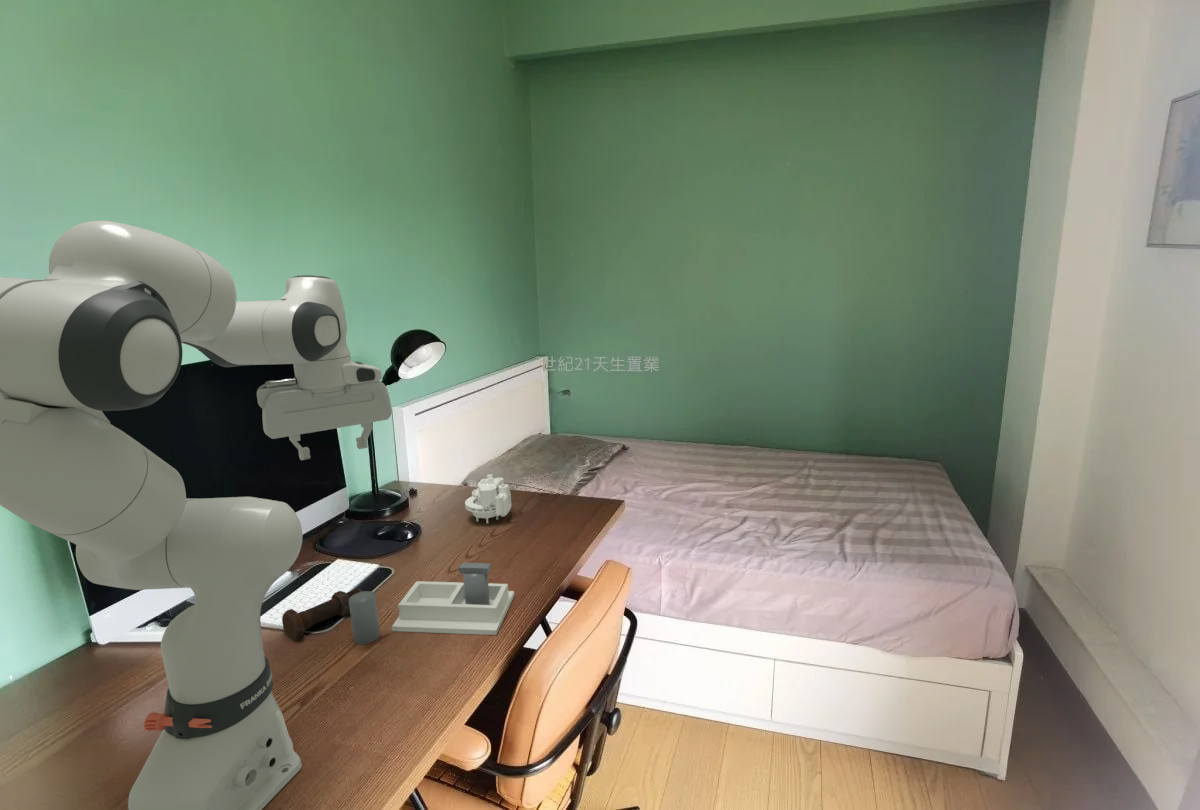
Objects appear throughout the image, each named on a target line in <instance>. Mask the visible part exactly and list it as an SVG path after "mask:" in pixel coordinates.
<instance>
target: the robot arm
mask: <svg viewBox="0 0 1200 810" xmlns="http://www.w3.org/2000/svg"><path fill="white" fill-rule="evenodd" d="M48 258H49V259H48V271H49V272H48V273H49V275H48V276H47V277H45V278H44V279H37V278H29V277H28V278H26V277H11V276H10V277H9V276H0V507H3V508H4V509H5V510H7V511H8V512H11V513H12V514H13V515H15V516H16V517H18V518H20V519H21V520H23V521H26V522H27V523H29V524H30V525H33V526H35V527H37V528H39V529H40V530H43V531H45V532H47V533H49V534H52V535H54V536H56V537H59V538H61V539H64V541H65V540H66V541H67V542H68V543H69V542H70V543H72V544H74V545H75V558H76V562H77V565H78V568H79V570H80V572H81V574H82V575H83V577H85V578H86V580H88V581H89V582H91V583H92V584H96V585H100V586H105V587H106V586H107V587H112V588H119V589H125V590H132V591H133V590H134V591H142V590H143V591H144V590H163V589H164V590H167V589H185V588H186V589H188V588H189V589H191V590H192V592H193V594H194V597H195V598H194V599H195V603H194V604H192V605H191V606H189V607H188V608H186V609H184V610H183V611H182V612H180V613H179V614H177V615H176V616H175V617H174V618H173V619H172V620H171V621H170V622H169V624H168V625H167V627H166V629H165V631H164V632H163V635H162V637H161V642H160V652H161V656H162V661H163V665H164V671H165V676H166V681H167V685H168V688H167V690H166V695H165V696H166V697H165V705H164V712H162V713H159V712H155V711H154V712H151V713H149V714H147V715H146V718H145V719H144V722H143V728H144V730H145V731H149V732H150V731H158V732H160V735H159V737H158V739H157V741H156V742H155V744H154V746H153V748H152V750H151V752H150V754H149V756H148V757H147V759H146V761H145V763H144V764H143V767H142V769H141V770H140V772H139V774H138V776H137V778H136V779H135V782H134V783H133V785H132V787H131V789H130V791H129V795H128V800H127V810H263V809H264V808H265V806H267V804H269V803H270V802H271V800H272V799H274V797H275V796H276V795H277V794H278V793H279V792H280V791H281V790H282V789H283V788H284V787H285V786H286V785H287V784H288V783H289V782H290V781H291V780H292V779H293V778H294V776H296V775H297V774H298V772H299V771H300V770H301V769H302V766H303V763H302V761H301V758H300V756H299V755H298V753H297V752H295V750H294V743H293V740H292V738H291V736H290V735H289V731H288V728H287V724H286V722H285V719H284V716H283V715H284V714H283V712H282V710H281V708H280V706H279V705H278V702H277V701H276V698H275V695H274V694H273V691H272V690H273V686H274V680H273V671H272V669H271V666H270V662H269V659H268V657H267V656H266V655H265V651H264V645H263V634H262V625H261V624H262V623H261V612H262V606H263V603H264V599H265V597H266V595H267V593H268V591H269V590H270V588H271V587H272V586H273V584H275V582H276V581H278V579H280V578H281V577H282V576H284V574H286V573H287V572H288V571H289V570H290V568H291V567H292V566H293V565H294V563H295V562H296V560H297V558H298V557H299V555H300V552H301V549H302V545H303V527H302V525H301V521H300V519H299V517H298V514H297V513H296V512H295V510H294V509H293V508H292V507H291V506H290V505H289V504H288V503H286V502H284V501H279V500H272V499H267V498H260V497H255V496H236V497H235V496H232V497H231V496H230V497H227V496H226V497H213V498H212V497H211V498H210V497H209V498H208V497H206V498H203V497H202V498H198V497H197V498H196V497H195V498H189V497H188V498H187V492H186V487H185V483H184V479H183V477H182V476H181V474H180V472H179V471H178V470H177V469H176V468H175V467H173V466H172V465H170V464H169V463H168V462H166V461H164V459H162V458H161V457H159V456H158V455H156V454H155V452H153V451H151V450H150V449H148V448H147V447H146V446H144V445H143V444H141V442H139V441H137V440H136V439H134V438H133V437H132V436H131V435H129V434H127V433H126V432H125V431H123V430H121V429H120V428H118V427H116V426H114V425H113V424H111V420H109V418H107V416H106V415H105V414H104V412H112V411H113V412H114V411H116V412H118V411H119V412H120V411H129V410H135V409H140V408H145V407H149V406H151V405H154V404H155V403H156V402H158V401H159V400H160V399H162V397H163V396H164V395H165V394H166V393H167V392H168V391H169V389H171V387H172V386H173V385H174V383H175V381H176V379H177V378H178V376H179V374H180V370H181V367H182V364H183V344H184V345H186V346H187V345H188V346H190V347H192V348H195V349H196V350H197V351H199V352H200V353H201V354H203V356H205V357H206V358H207V359H208V360H210V361H211V362H212V363H214V364H216V365H218V366H220V367H223V368H234V367H243V366H244V367H245V366H252V365H253V366H256V365H257V366H258V365H259V366H261V365H263V366H264V365H266V366H267V365H293V372H294V377H290V378H284V379H279V380H267V381H265V383H264V384H262V385H260V386H259V387H258V388H257V390H256V398H257V399H256V400H257V404H258V406H259V407H260V408H261V409H262V414H261V416H262V429H263V432H264V434H265V435H266V436H268V438H270V439H272V440H276V439H280V438H282V439H283V438H286V437H288V438H289V441H290V442H291V443H292V445H293V446H294V447H295V448H296V449H297V451H298V457H299V460H300V461H304V460H311V458H312V457H311V451H310V448H309V447H308V446H304V447H303V446H302V445H301V444H300V443H299V442H300V441H301V435H304V434H312V433H316V432H322V431H328V430H335V429H340V428H346V427H347V428H348V427H353V426H357V425H359V426H360V427H361V428H362V429H363V430H362V432H361V435H360V437H356V438H355V441H356V446H357V447H356V448H357V449H359V450H363V449H368V448H369V444H368V438H369V436H370V434H371V432H372V430H373V423H376V422H381V421H387V420H389V419H390V417H391V416H392V414H393V410H392V409H393V408H392V403H391V398H390V394H389V390H388V388H387V386H386V385H385V383H384V382H382V381H380V380H381V379H382V371H381V370H382V369H380V368H378V366H375V365H371V364H369V363H368V364H367V363H362V362H360V361H352V360H351V352H350V349H349V347H348V345H347V332H348V325H347V317H346V313H345V312H346V311H345V308H344V302H343V299H342V295H341V292H340V288H339V286H338V284H337V282H336V281H335V279H332V278H331V277H328V276H322V275H310V274H309V275H308V274H306V275H295V276H291V277H289V278H287V279H286V282H285V294H284V295H283V296H282V297H280V298H279V299H276V300H274V299H273V300H243V301H239V300H238V298H237V290H236V285H235V282H234V280H233V277H232V275H231V273H230V272H229V271H228V270H227V269H226V268H225V267H224V266H223V264H221V263H220V262H219V261H218V260H216V259H215V258H213V257H212V256H211V255H209V254H207V253H206V252H204V251H202V250H200V249H197V248H195V247H194V246H191V245H189V244H188V243H187V244H186V243H185V242H183V241H180V240H179V239H176V238H173V237H171V236H168V235H166V234H163V233H160V232H157V231H154V230H150V229H147V228H143V227H140V226H139V227H138V226H135V225H133V224H132V225H131V224H127V223H121V222H117V221H112V220H111V221H110V220H101V219H100V220H91V221H85V222H82V223H79V224H76V225H73V226H71V228H68V229H67V230H66V231H64V232H63V233H62V235H61V236H59V238H57V240H56V242H55V243H54V245H53V247H52V249H51V252H50V253H49V257H48Z"/></svg>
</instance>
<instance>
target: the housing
mask: <svg viewBox="0 0 1200 810" xmlns="http://www.w3.org/2000/svg"><path fill="white" fill-rule="evenodd" d="M491 568H492V567H491V563H484V562H483V563H482V562H462V563H461V564H460V565H459V567H458V573H459V574H462V578H463V582H459V581H458V582H456V581H455V582H454V581H453V582H452V581H421V580H420V581H415V583H414V584H413V585H412V586H411V588H409V590H408V591H407V592H406V594H405V595H404V597H403V598H402V599H401V601H400V602H399V603H398V604H397V606H398V607H397V608H398V615H399V616H398V617H397V619H396V620H395V621H394V623H393V624H392V626H391V632H399V633H400V632H402V633H403V632H404V633H405V632H407V633H429V634H430V633H431V634H432V633H433V634H437V633H438V634H452V635H453V634H458V635H480V636H481V635H483V636H497V635H498V632H499V630H500V629H501V626H502V624H503V621H504V620H505V617H506V614H507V613H508V610H509V609H510V606H511V604H512V601H513V599H514V598H515V591H513V590H509V584H508V583H491V582H490V583H489V577H488V575H489V573H490V571H491V570H492V569H491Z"/></svg>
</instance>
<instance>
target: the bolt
mask: <svg viewBox="0 0 1200 810" xmlns="http://www.w3.org/2000/svg"><path fill="white" fill-rule="evenodd" d="M359 592H363V590H362V589H361V588H360V587H357V588H355V589H352V590H350V591H348V592H346V591H342V590H339V591H336V592H334V593H333V595H332V596H331V599H329V600H326V601H324V602H322V603H320V604H318V605H315V606H313V607H310V608H308V609H306V610H302V611H298V612H297V611H296V610H294V609H293V608H290V609H287V610H285V611H284V613H283V615H282V617H281V621H282V622H281V623H282V628H283V630H284V633H285V634H286V636H287V637H288V639H290V640H293V641H298V640H300V639H302V638H303V637H304V633H305V631H306V630H307V629H309V628H311V627H313V626H315V625H317V624H319V623H321V622H324V621H326V620H328V619H330V618H333V617H335V616H338V615H337V614H340V615H341V616H340V617H345V616H347V615H349V614H350V607H349V598H350V597H351V596H352V595H354V594H356V593H359ZM344 615H345V616H344Z"/></svg>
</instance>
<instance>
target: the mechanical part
mask: <svg viewBox="0 0 1200 810" xmlns="http://www.w3.org/2000/svg"><path fill="white" fill-rule="evenodd" d="M504 482H505V481H504V478H503V477H495V478H494V476H493V474H486V478H482V479H480V481H479V482H478V483H477V485H476V486H477V488H476V489H473V490H472V491H471V496H470V497H467V499H466V500H465V501H464V508H465V510H467V511H468V512H471V513H472V516H473V517H475V518H476V519H475V520H476V522H477V523H478V522H479V519H485V521H486V522H485V523H486V524H489V519H490V518H494V517H495V519H496V521H497V520H499V517H506V516H507V515H508V514H509V512H510V511H511V508H512V493H511V491H510V486H509V485H508V484H506V483H504Z"/></svg>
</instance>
